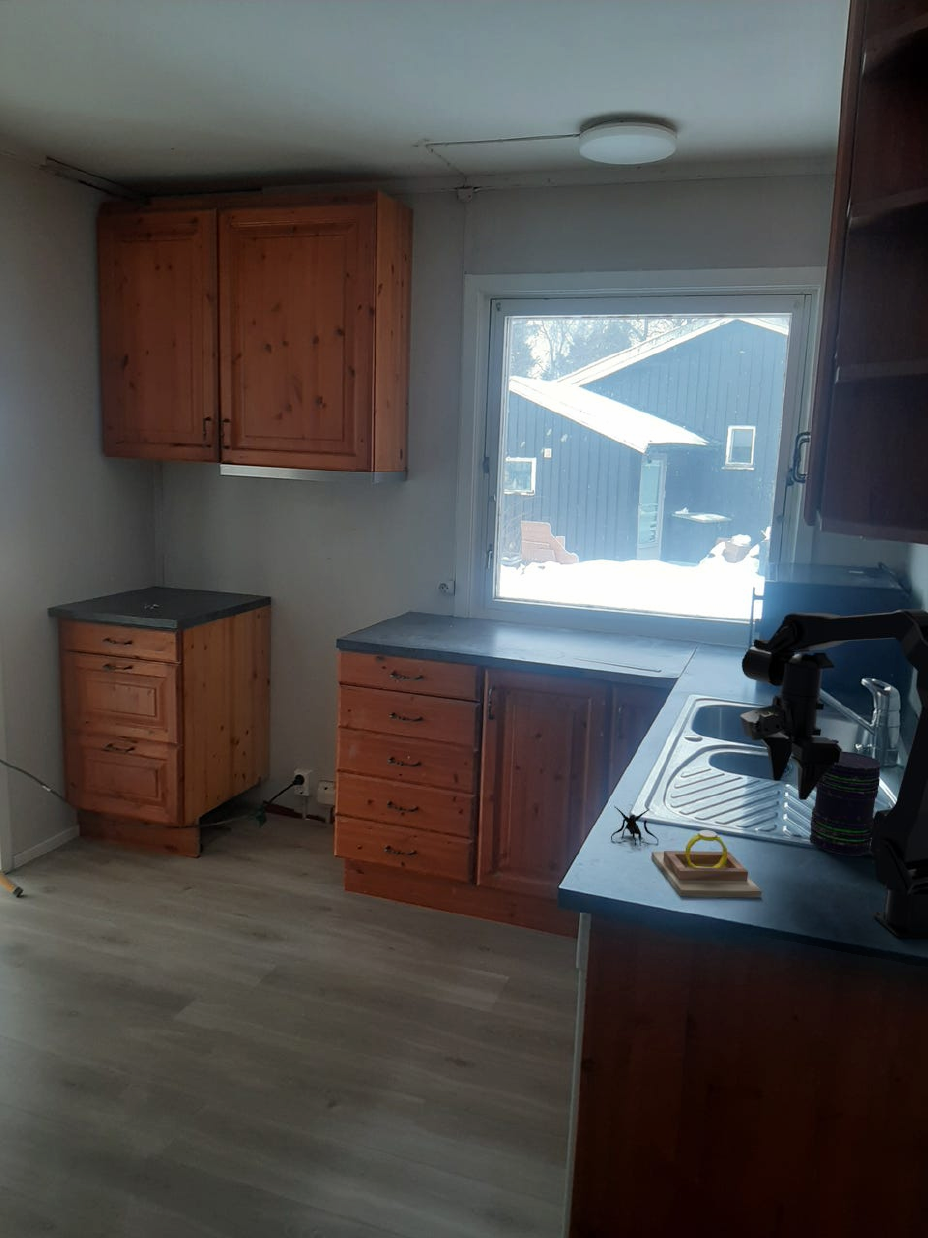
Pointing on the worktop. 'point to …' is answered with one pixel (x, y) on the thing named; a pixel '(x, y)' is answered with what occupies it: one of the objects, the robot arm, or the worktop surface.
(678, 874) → the wooden framed tray
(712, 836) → the watch
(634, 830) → the creature
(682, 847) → the worktop surface
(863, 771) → the dark purple barrel
